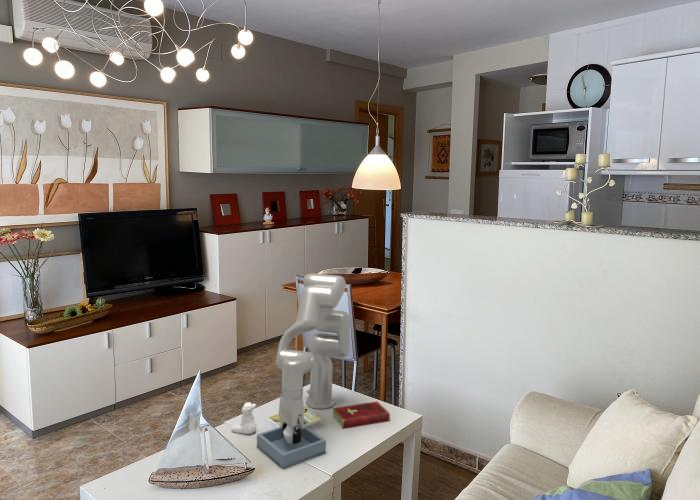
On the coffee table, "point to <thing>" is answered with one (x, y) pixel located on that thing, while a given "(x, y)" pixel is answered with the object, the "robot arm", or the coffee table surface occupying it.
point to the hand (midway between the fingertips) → (291, 438)
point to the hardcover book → (360, 414)
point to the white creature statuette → (246, 420)
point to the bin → (290, 447)
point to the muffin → (289, 433)
